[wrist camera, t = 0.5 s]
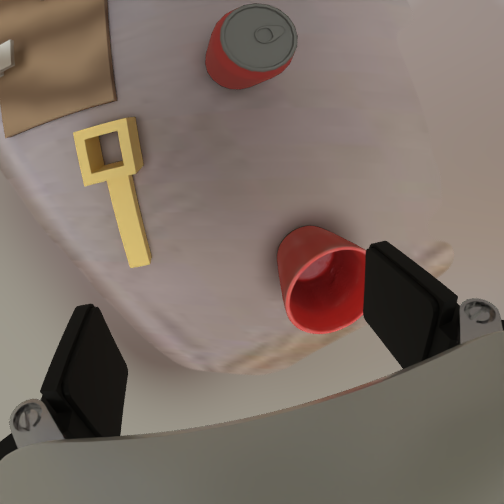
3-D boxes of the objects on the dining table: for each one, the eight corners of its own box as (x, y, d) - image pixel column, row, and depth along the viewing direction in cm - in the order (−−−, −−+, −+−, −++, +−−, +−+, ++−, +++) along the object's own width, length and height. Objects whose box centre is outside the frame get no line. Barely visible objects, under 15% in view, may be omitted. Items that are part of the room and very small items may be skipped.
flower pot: (342, 281, 43) (375, 322, 35) (266, 296, 42) (286, 344, 33) (346, 209, 39) (387, 239, 30) (261, 220, 37) (284, 256, 28)
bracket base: (5, -17, 17) (-21, -31, 11) (106, -59, 18) (93, -85, 12) (11, 136, 27) (-21, 145, 20) (117, 100, 28) (99, 98, 22)
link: (88, 129, 29) (73, 132, 24) (135, 116, 29) (126, 117, 25) (121, 262, 36) (113, 283, 32) (163, 254, 37) (160, 275, 32)
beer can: (276, 76, 30) (318, 62, 20) (220, 99, 30) (236, 92, 20) (252, 25, 27) (282, -12, 17) (194, 47, 27) (197, 14, 17)
